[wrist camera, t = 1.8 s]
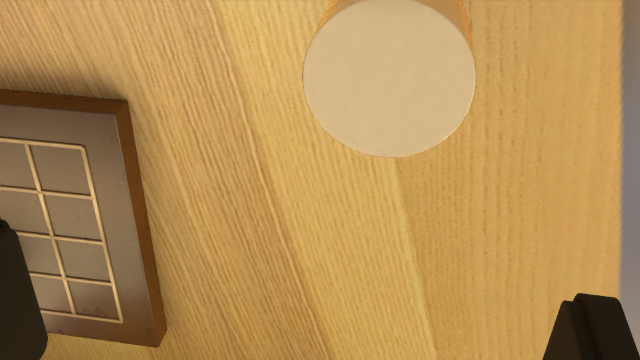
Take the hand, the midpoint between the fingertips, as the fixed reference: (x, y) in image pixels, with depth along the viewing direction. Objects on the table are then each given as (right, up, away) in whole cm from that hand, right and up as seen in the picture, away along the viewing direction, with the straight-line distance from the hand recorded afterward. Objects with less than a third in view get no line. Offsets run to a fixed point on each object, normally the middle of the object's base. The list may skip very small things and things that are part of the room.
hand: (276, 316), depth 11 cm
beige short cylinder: (+3, +7, +9) cm, 12 cm away
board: (-17, 0, +25) cm, 30 cm away
